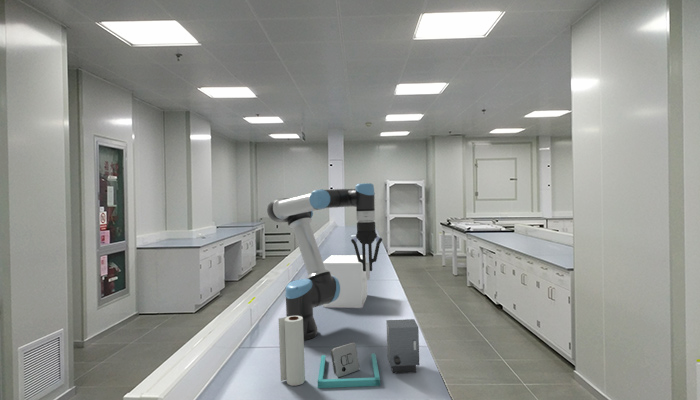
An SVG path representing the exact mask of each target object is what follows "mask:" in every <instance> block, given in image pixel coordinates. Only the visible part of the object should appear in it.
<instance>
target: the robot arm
mask: <svg viewBox="0 0 700 400" xmlns="http://www.w3.org/2000/svg"><path fill="white" fill-rule="evenodd" d="M375 194H376V193H375V186H374V184H373V183H368V182H367V183H365V182H364V183H355V188H335V189H323V188H322V189H314V190H312V192H309V193H306V194H302V195H301V194H300V195H299V196H294V197H285V198H282V197H281V198H276V199H273V200H272V201H270V202H269V203H268V206H267V208H266V212H267V215H268V217H269V219H270V220H272V221H273V222H276V223H287V225H288V227H289V228H290V229H292V230H293V233H294V236H295V239H296V242H297V245H298V248H299V253H301V254H300V255H301V257H302V260H303V263H304V267H305V270H306V272H307V277H306V278H301V279H296V280H292V281H290V282H289V283H288V284H286V287H285V292H284V293H285V294H284V296H285V312H286V315H285V317H288V316H301V317H303V336H304V341H308V340H312V339H313V338H316V336H318V330H319V329H318V325H317V324H316V321H315V317H314V308H316V307H320V306H323V305H324V304H329V303H331V302H333V301H335V300H337V298H338V297H339V293H340V283H339V281H338V279H337V278H336V277H334V276H331V274H330V271H328V270H326V269H325V266H324V263H323V262H324V260H323V258H322V255H321V252H320V250H319V246H318V243H317V241H316V238H315V235H314V232H313V229H312V226H311V222H312V218H313V216H314V211H319V210H325V209H333V208H346V207H347V208H349V207H351V208H353V207H355V208H356V211H355V212H356V221H357V222H356V235H355V236H354V237H353V238H351V239H350V242H351V243H352V244H353V247H354V250H355V251H354V252H355V255H357V258H358V262H361V263H362V264H363V271H366V280H367V281H371V280H370V279H371V277H370V272H372V271H373V263H374V262H375V263H376V262H377V260H378V255H379V254H378V253H379V251H380V245H381V244H382V241H383V238H382V237H380V236H378V234H377V231H376V222H375V221H376V209H375V205H376V204H375V203H376V202H375V200H376V199H375ZM358 241H359V243H360V244H361V250H362V251H361V254H360V251H359V248H358ZM375 241H376V243H375V249H374V252H373V249H372V245H373V243H374V242H375ZM366 245H367V247H368V248H367V249H368V262H367V263H366V260H367V255H366ZM373 253H374V254H373ZM360 255H362V259H361V258H360ZM365 255H366V256H365Z"/></svg>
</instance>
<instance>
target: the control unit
mask: <svg viewBox="0 0 700 400" xmlns="http://www.w3.org/2000/svg"><path fill="white" fill-rule="evenodd" d="M385 321H386V348H387V349H386V353H387V360H388V363H389V367H390V369H391V371H392V374H410V373H411V374H413V373H414V374H415V373H417V366H420V337H419V334H420V333H419V330H420V329H419V325H418V323H417V322H416V320H415V319H414V318H411V319H410V318H409V319H408V318H405V319H386V320H385Z"/></svg>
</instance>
